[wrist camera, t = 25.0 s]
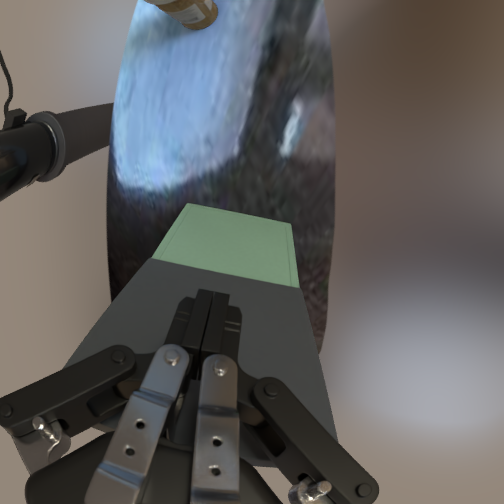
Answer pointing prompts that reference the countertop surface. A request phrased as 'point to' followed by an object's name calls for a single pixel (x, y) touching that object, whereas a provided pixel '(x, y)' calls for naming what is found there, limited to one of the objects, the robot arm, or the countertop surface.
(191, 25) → the sprinkles bottle
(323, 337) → the countertop surface
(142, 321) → the pod lid
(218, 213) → the mint green storage bin
